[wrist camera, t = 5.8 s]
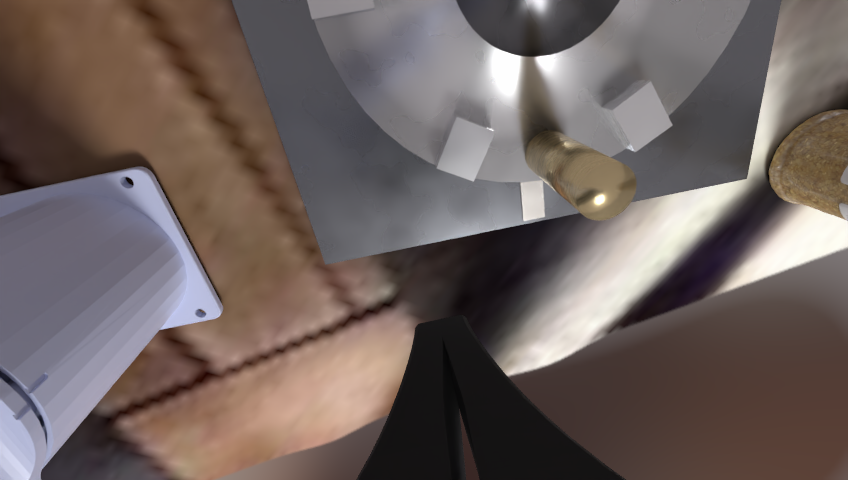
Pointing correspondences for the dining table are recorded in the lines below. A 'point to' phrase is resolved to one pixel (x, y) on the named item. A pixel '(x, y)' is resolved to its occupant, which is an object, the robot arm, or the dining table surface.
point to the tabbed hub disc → (527, 82)
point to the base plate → (455, 196)
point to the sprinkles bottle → (815, 164)
